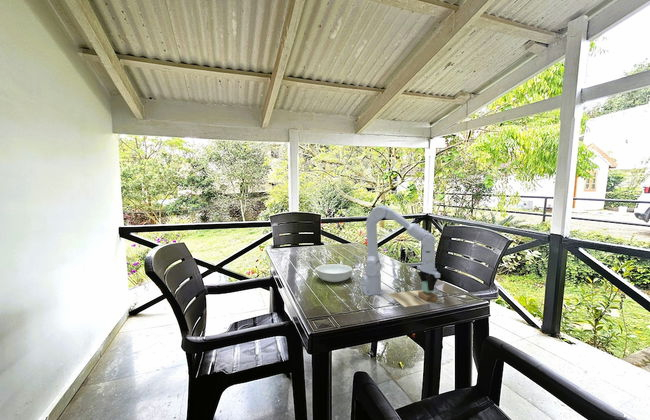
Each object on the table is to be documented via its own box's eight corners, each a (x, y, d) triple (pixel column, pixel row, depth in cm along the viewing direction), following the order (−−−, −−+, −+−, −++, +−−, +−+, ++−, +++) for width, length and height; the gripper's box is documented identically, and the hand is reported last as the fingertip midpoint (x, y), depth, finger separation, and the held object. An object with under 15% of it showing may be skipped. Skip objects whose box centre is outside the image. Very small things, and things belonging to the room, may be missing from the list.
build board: (404, 308, 118) (404, 306, 118) (387, 294, 134) (387, 293, 134) (444, 302, 123) (444, 301, 123) (422, 290, 139) (422, 289, 139)
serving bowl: (357, 277, 162) (357, 265, 162) (343, 288, 144) (343, 275, 143) (326, 272, 172) (326, 262, 172) (309, 282, 154) (309, 270, 153)
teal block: (426, 292, 124) (426, 284, 124) (421, 289, 128) (421, 281, 128) (434, 291, 125) (434, 283, 125) (428, 288, 129) (429, 280, 129)
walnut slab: (426, 301, 123) (426, 296, 123) (418, 297, 129) (418, 291, 129) (437, 300, 125) (437, 295, 125) (429, 295, 130) (429, 290, 130)
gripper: (446, 263, 120) (446, 293, 121) (426, 255, 134) (425, 282, 135) (432, 264, 118) (432, 295, 119) (413, 256, 132) (413, 284, 133)
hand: (427, 288), depth 127 cm, fingers closed on teal block, 4 cm apart
